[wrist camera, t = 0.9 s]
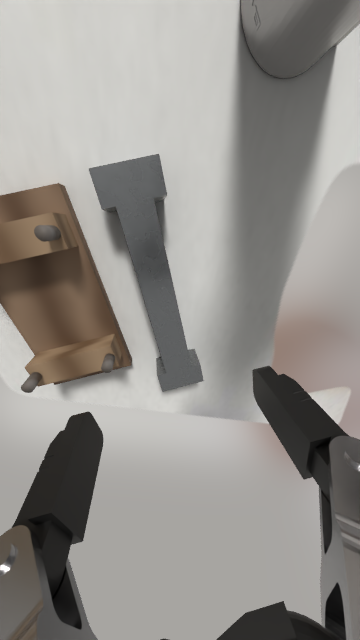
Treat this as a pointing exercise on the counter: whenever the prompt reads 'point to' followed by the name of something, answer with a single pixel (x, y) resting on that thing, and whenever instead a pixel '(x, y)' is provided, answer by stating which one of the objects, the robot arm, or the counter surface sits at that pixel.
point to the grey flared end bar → (149, 259)
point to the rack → (55, 290)
